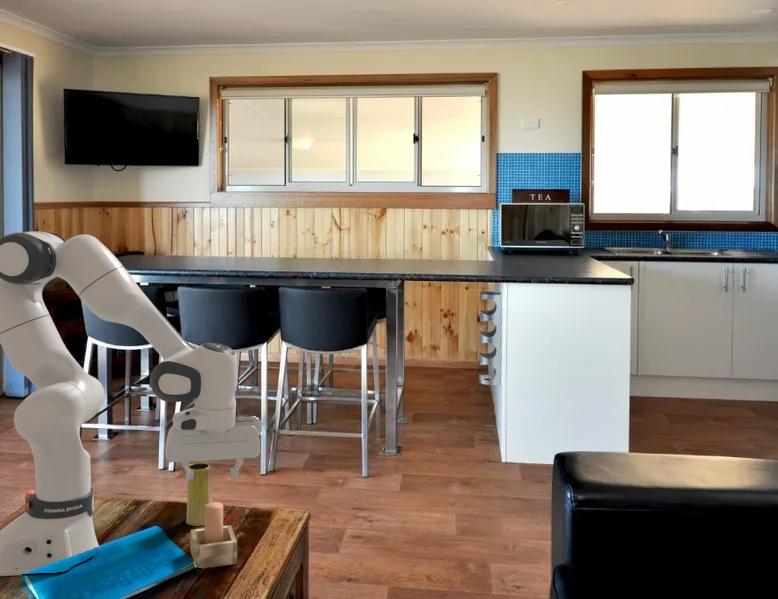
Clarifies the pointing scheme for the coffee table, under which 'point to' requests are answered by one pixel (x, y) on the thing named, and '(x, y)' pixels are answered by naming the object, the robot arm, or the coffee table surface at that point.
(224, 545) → the socket block
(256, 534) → the coffee table surface
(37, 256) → the robot arm
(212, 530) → the peg
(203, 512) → the vase
